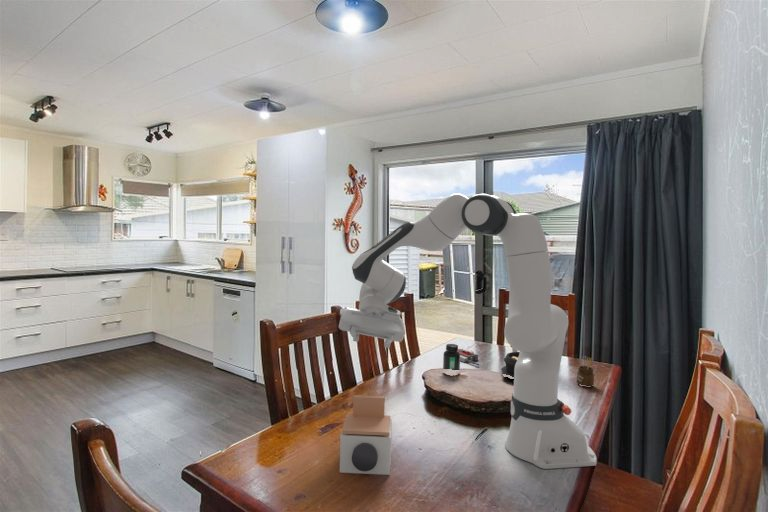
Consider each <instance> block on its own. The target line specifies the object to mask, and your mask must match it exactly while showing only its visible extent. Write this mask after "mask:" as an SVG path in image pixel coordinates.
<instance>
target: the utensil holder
mask: <svg viewBox="0 0 768 512" xmlns="http://www.w3.org/2000/svg"><path fill="white" fill-rule="evenodd" d="M585 359H586V362H585V361H582V365H579V366H578V369H577V372H576V384H577V383H578V384H581V385H586V386H592V385H593V386H594V383H595V382H594V381H595V376H594V375H595V374H594V368H593V367H591V364H592V357H587V356H584V357H582V360H585ZM584 362H585V363H584Z"/></svg>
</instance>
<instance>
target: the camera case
mask: <svg viewBox="0 0 768 512" xmlns="http://www.w3.org/2000/svg"><path fill="white" fill-rule="evenodd" d="M345 420H346V418H345ZM345 420H344V421H345ZM344 424H345V422H344V423H343V426H342V429H341V431H340V438H339V439H340V440H339V473H342V474H343V473H344V474H361V475H362V474H366V475H367V474H368V475H384V476H385V475H386V476H390V475H391V462H392V441H393V440H392V437H393V435H392V431H393V419H392V418H390V432H389V436H383V435H361V434H342V430H343V427H344Z"/></svg>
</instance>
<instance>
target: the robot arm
mask: <svg viewBox="0 0 768 512" xmlns="http://www.w3.org/2000/svg"><path fill="white" fill-rule="evenodd" d="M467 229H469V230H470V231H471V232H474V233H476V234H479V235H484V236H489V237H490V236H491V237H492V236H495V237H498V238H500V240H501V243H502V244H503V249H504V251H503V252H504V256H505V263H506V270H507V277H508V278H507V279H508V285H509V286H508V288H509V292H508V293H509V294H508V296H509V297H508V313H507V319H506V322H505V324H504V329H503V331H504V332H503V333H504V337H505V340H506V341H507V343H508V344H509V345H510V347H512V348H513V349H514V350H516V351H517V352H520V353H519V357H518V360H517V362H516V364H515V369H514V380H513V393H512V394H511V402H510V415H511V419H510V425H509V431H508V434H507V437H506V440H505V444H504V446H505V448H506V450H507V451H508V452H509V453H510V454H511V455H512V456H515V457H516V458H518V459H520V460H524V461H525V462H529V463H531V464H533V465H535V466H536V467H538V468H541V469H543V470H549V469H550V470H551V469H563V468H577V467H581V468H582V467H594V466H597V463H598V458H597V455H596V453H595V452H594V450H593V449H592V448H591V447H590V446H589V445H588V442H587V438H586V435H585V433H584V432H583V430H582V429H581V428H580V427H579V426H578V425H577V424H576V423H575V422H574V421H573V420H572V419H571V418H569V417H568V416H570V415H571V414H572V409H571V408H570V407H569V406H568V405H567V404H565V402H563V401H562V400H561V399H559V398H558V393H559V392H558V391H559V373H560V367H561V362H562V358H563V357H562V356H563V353H564V348H565V347H564V346H565V342H566V334H567V331H568V328H569V318H568V315H567V313H566V311H564V310H563V308H561V307H560V306H558V305H556V304H552V303H551V301H552V286H553V283H554V279H553V273H552V267H551V259H550V254H549V248H548V244H547V239H546V235H545V232H544V229H543V226H542V224H541V222H540V219H539V218H538V216H536V215H535V214H531V213H528V212H527V213H526V212H523V213H517V212H516V210H515V208H514V206H513V205H512V204H510V202H508V201H506V200H504V199H502V198H501V197H498V196H496V195H492V194H491V195H490V194H487V193H479V194H475V195H473V196H471V197H469V198H468V197H467V196H466V195H464V194H461V193H452V194H450V195H449V196H446V198H444V199H443V200H442V201H440V203H438V204H437V205H436V206H435V207H434V208H433V209H432V210H431V211H430V212H429V213H428V214H426V216H424V217H423V218H421V219H419V220H416V221H406V222H405V223H403V224H401V225H400V226H398V227H397V228H395V229H394V230H393V231H391V232H390V233H389V234H388V235H386V236H385V237H384V238H382V239H380V241H379V242H378V243H376V244H375V245H373V246H372V247H371V248H369V249H368V250H366V251H364V252H362V253H361V254H360V255H358V256H357V258H356V259H355V260H354V261H353V263H352V266H351V270H352V274H353V277H354V280H356V281H358V282H360V283H362V285H361V287H360V291H359V297H358V298H359V299H358V301H359V304H358V309H357V308H352V307H351V308H350V307H347V306H346V307H341V308H340V309H339V315H340V319H339V324H338V329H339V330H341V331H343V332H349V334H350V336H351V337H352V342H355V343H356V342H359V340H360V335H364V336H368V337H373V338H377V339H378V338H379V339H382V340H384V341H385V342H384V344H383V346H384V348H387V349H390V346H391V344H392V343H393V342H397V343H401V342H402V341H403V340H404V339H405V334H406V328H405V322H404V320H403V319H402V318H401V316H402V315H401V311H400V310H398V309H396V308H395V307H392V306H390V305H389V304H391V303H393V302H395V301H396V300H398V299H399V298H401V296H402V295H403V294H404V292H405V289H406V285H407V277H406V274H405V273H404V272H402V271H400V270H399V269H398V268H396V267H394V266H393V265H392V264H390V263H388V262H387V261H386V260H384V259H385V258H386V257H388V256H389V255H390V254H391V253H392V252H394V251H395V250H397V249H399V248H400V247H412V248H417V249H421V250H425V251H428V252H439V251H442V250H445V249H446V248H447V247H448V246H450V244H452V243H453V242H454V241H455V240H456V238H457V239H458V237H459V235H460V234H462V233H463V232H464V231H465V230H467Z"/></svg>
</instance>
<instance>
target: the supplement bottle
mask: <svg viewBox="0 0 768 512" xmlns="http://www.w3.org/2000/svg"><path fill="white" fill-rule="evenodd" d="M458 349H459V345H458V344H455V343H447V344H446V346H445V351H444V352H443V359H442V370H443V369H452V370H461V368H460V367H461V361H460V353H459V352H458Z"/></svg>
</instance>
